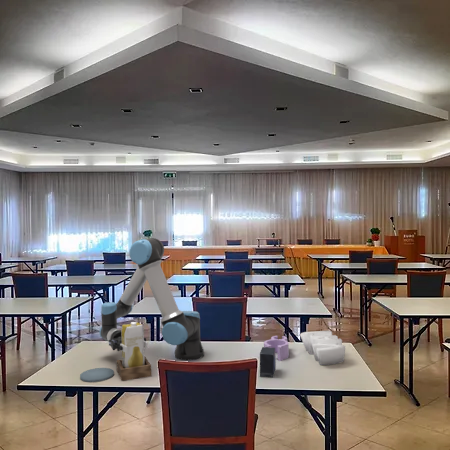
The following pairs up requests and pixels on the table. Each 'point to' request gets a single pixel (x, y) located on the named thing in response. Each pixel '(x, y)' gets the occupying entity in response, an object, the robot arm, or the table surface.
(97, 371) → the rubber coaster
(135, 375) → the walnut collar
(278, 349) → the lilac desk organizer
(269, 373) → the small box
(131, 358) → the juice carton
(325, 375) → the table surface
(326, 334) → the white wavy slab sculpture
